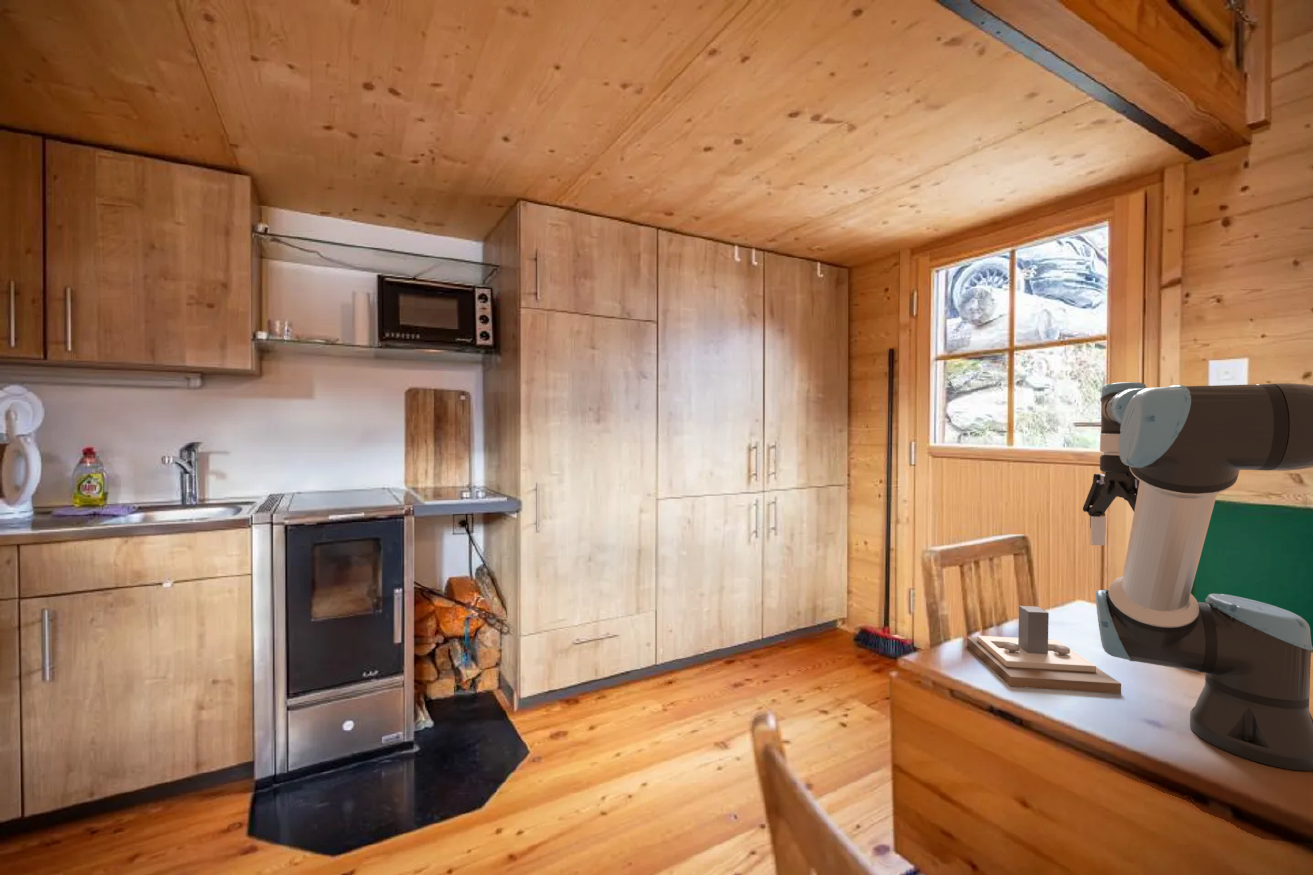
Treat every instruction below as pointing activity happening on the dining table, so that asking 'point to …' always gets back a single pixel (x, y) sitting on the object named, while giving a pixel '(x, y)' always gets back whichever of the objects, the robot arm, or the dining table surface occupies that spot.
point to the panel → (1035, 658)
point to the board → (1046, 672)
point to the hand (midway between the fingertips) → (1120, 551)
